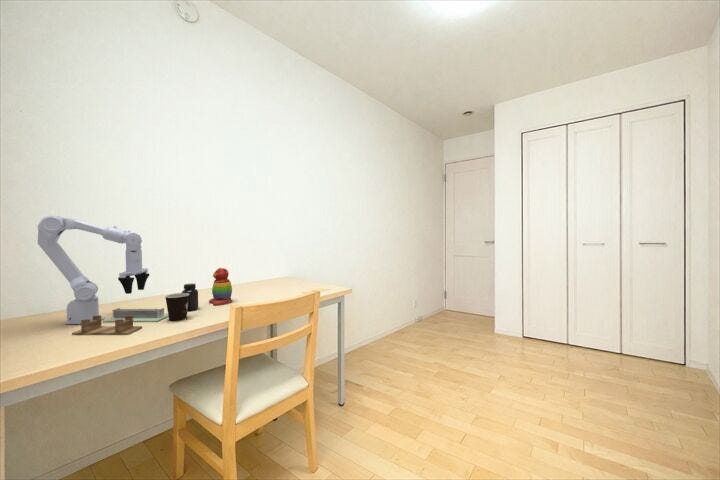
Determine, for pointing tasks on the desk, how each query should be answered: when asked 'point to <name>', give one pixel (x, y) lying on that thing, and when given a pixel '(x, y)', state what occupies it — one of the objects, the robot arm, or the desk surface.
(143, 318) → the mat
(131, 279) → the robot arm
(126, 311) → the rail
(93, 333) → the stand
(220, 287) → the stacking bear
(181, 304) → the coffee mug
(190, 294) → the supplement bottle
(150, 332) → the desk surface
